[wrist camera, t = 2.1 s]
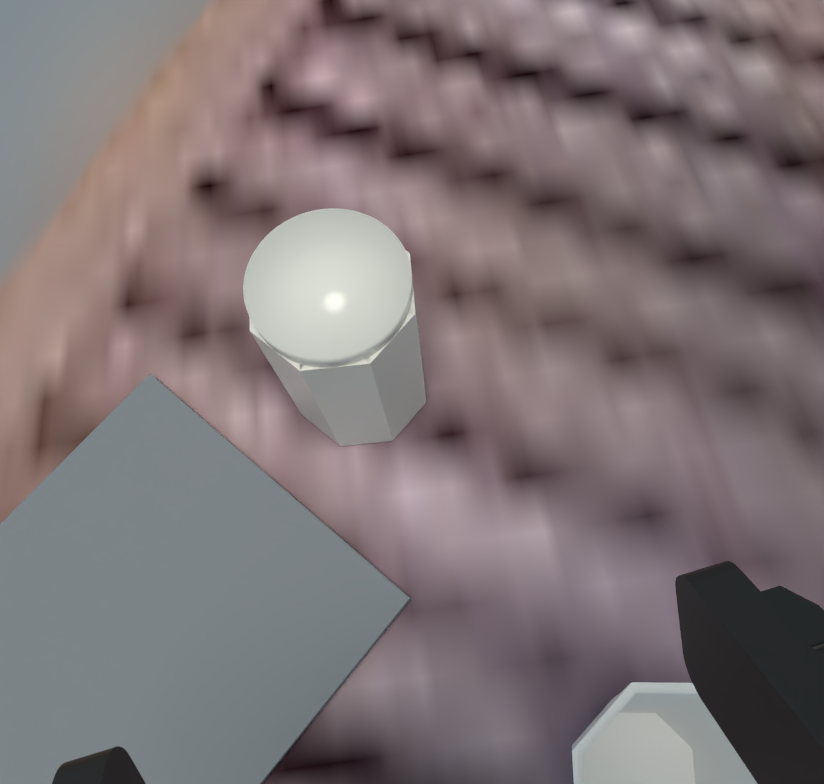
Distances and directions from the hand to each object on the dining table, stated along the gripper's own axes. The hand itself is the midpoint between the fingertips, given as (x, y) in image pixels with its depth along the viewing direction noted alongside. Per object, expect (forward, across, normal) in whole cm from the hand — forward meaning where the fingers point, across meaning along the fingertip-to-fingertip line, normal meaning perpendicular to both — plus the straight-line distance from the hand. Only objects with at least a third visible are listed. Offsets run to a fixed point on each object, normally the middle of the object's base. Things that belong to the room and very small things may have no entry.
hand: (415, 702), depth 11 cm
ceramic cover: (+24, 0, +5) cm, 25 cm away
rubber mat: (+19, +11, +11) cm, 25 cm away
